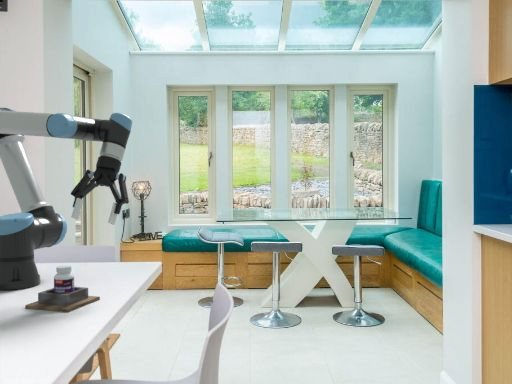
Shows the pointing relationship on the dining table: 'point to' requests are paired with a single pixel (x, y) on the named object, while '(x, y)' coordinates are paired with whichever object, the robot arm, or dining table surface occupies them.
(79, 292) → the square framed tray
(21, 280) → the robot arm
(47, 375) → the dining table surface
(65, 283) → the pill bottle
